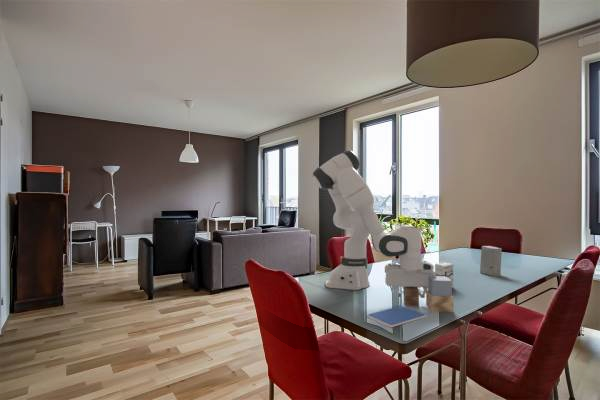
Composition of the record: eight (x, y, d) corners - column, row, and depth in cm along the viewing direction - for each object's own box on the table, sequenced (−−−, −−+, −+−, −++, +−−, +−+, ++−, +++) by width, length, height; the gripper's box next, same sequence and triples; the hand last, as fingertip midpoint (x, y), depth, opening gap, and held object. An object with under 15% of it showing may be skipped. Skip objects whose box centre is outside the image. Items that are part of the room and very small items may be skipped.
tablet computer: (401, 308, 124) (401, 304, 124) (428, 318, 113) (428, 314, 113) (365, 317, 114) (365, 314, 114) (391, 329, 103) (391, 325, 103)
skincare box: (479, 273, 179) (479, 246, 179) (489, 272, 181) (488, 245, 181) (492, 276, 171) (492, 248, 171) (502, 275, 173) (502, 247, 173)
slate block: (432, 295, 119) (432, 280, 119) (428, 290, 126) (427, 275, 126) (451, 296, 118) (451, 280, 118) (446, 291, 125) (445, 276, 125)
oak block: (431, 311, 119) (431, 296, 119) (426, 304, 127) (426, 290, 127) (453, 312, 118) (453, 296, 118) (446, 305, 125) (446, 290, 125)
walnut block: (406, 305, 125) (406, 288, 125) (403, 301, 130) (403, 285, 130) (418, 306, 125) (418, 288, 125) (416, 302, 130) (415, 285, 130)
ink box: (444, 290, 146) (443, 265, 146) (434, 287, 150) (434, 263, 150) (453, 287, 150) (453, 263, 150) (444, 285, 155) (444, 261, 155)
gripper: (385, 264, 126) (385, 298, 126) (438, 266, 123) (438, 300, 123) (383, 261, 132) (384, 293, 132) (433, 263, 129) (433, 295, 129)
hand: (410, 297), depth 127 cm, fingers open, 8 cm apart
